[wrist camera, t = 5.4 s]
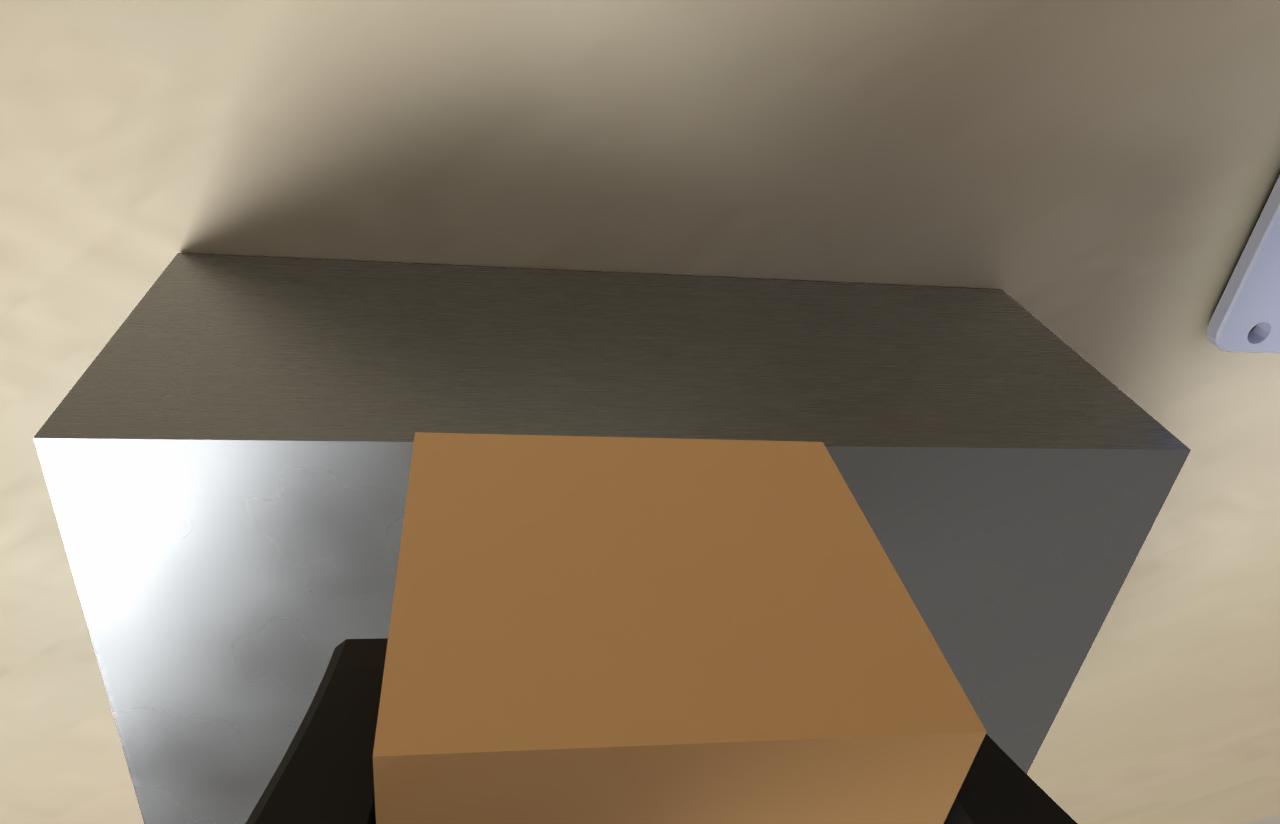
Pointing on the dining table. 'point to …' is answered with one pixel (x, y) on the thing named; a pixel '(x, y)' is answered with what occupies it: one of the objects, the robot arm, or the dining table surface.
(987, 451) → the grey box with hole
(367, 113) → the dining table surface
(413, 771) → the block
